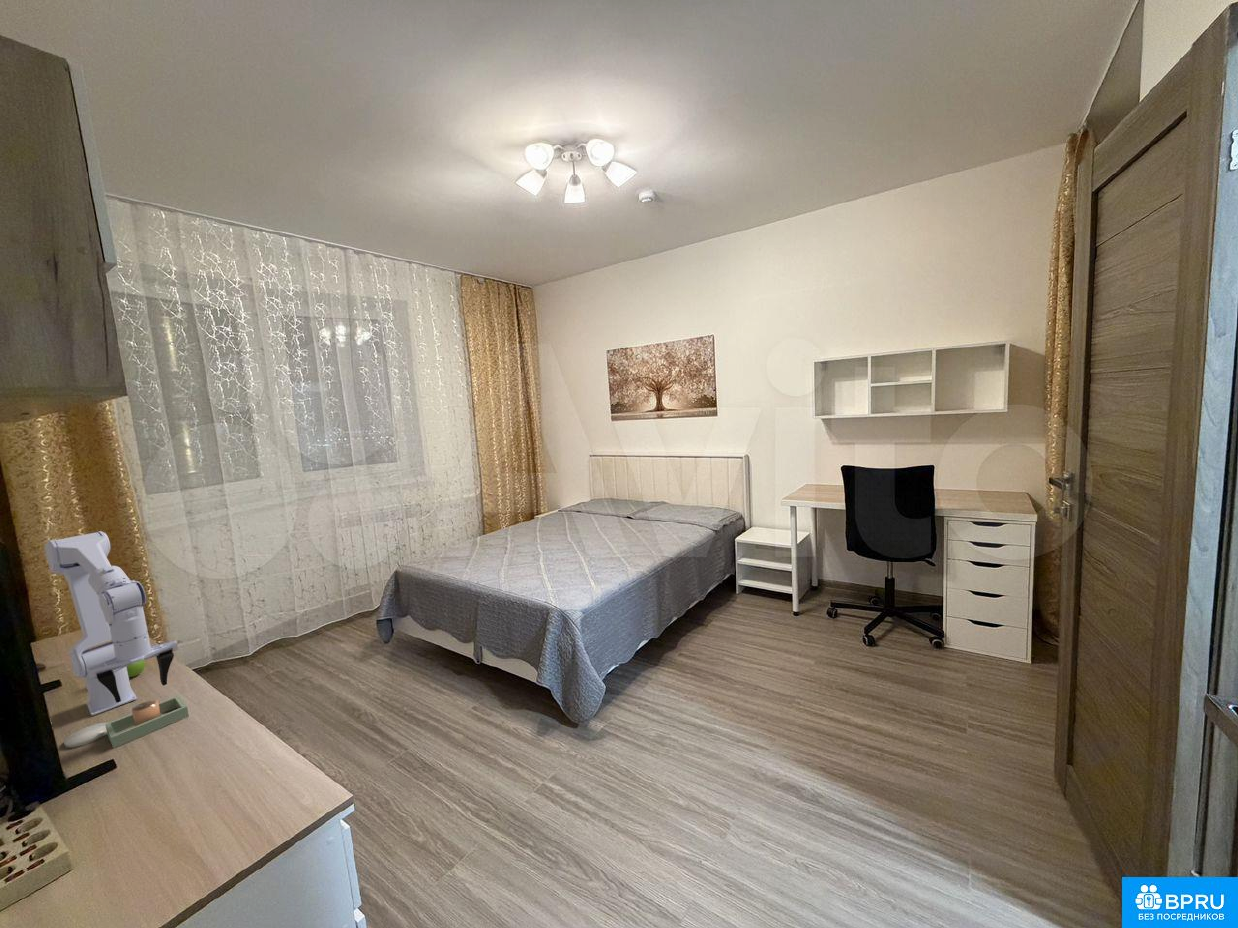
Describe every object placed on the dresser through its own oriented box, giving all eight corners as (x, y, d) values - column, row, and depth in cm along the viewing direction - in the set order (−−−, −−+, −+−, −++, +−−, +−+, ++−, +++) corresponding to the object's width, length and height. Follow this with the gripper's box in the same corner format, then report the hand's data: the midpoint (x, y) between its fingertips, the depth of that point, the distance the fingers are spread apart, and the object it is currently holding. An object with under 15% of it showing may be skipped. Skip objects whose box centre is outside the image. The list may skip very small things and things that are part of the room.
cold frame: (107, 734, 109) (105, 724, 109) (180, 704, 119) (178, 695, 119) (113, 748, 104) (111, 737, 104) (188, 716, 114) (187, 706, 114)
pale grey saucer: (63, 740, 108) (62, 736, 108) (108, 722, 113) (107, 718, 113) (66, 752, 104) (65, 747, 104) (112, 733, 109) (112, 729, 109)
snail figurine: (132, 681, 132) (123, 641, 130) (114, 680, 133) (106, 640, 132) (154, 671, 137) (146, 631, 136) (137, 670, 138) (129, 631, 137)
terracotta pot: (134, 727, 111) (129, 707, 110) (159, 716, 115) (155, 697, 114) (137, 733, 108) (133, 713, 108) (163, 723, 112) (159, 703, 111)
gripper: (85, 655, 101) (98, 715, 102) (176, 627, 112) (187, 681, 114) (81, 647, 105) (94, 704, 107) (170, 621, 116) (180, 672, 118)
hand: (141, 691), depth 110 cm, fingers open, 7 cm apart
